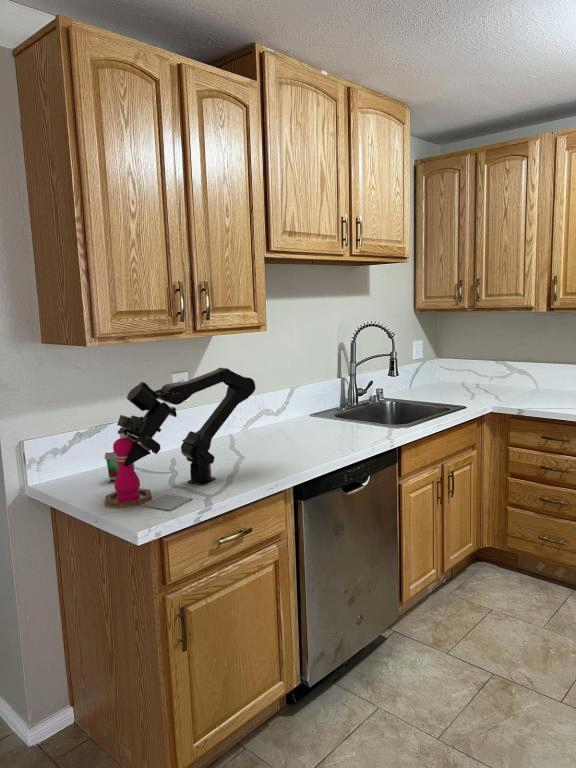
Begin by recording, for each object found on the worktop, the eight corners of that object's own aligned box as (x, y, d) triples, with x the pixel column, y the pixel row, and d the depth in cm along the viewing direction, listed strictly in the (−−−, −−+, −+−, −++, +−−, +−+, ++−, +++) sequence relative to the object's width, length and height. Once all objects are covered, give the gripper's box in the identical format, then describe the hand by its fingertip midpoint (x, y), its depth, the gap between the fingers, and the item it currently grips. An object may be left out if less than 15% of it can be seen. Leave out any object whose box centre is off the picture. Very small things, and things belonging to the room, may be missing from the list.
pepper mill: (122, 505, 169) (115, 437, 166) (112, 499, 175) (105, 433, 172) (145, 499, 173) (139, 432, 170) (135, 493, 179) (129, 428, 176)
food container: (122, 484, 189) (120, 454, 187) (107, 483, 191) (104, 453, 190) (145, 473, 200) (143, 444, 199) (130, 472, 202) (127, 443, 201)
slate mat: (165, 495, 176) (165, 494, 176) (192, 499, 172) (192, 498, 171) (142, 506, 168) (142, 505, 168) (170, 511, 163) (170, 509, 163)
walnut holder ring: (127, 490, 183) (127, 486, 183) (160, 495, 177) (160, 491, 176) (95, 504, 172) (95, 500, 171) (129, 510, 165) (129, 505, 165)
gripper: (121, 400, 180) (88, 443, 175) (146, 408, 165) (111, 454, 160) (147, 421, 185) (116, 463, 181) (174, 430, 171) (141, 476, 166)
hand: (120, 463), depth 172 cm, fingers closed on pepper mill, 5 cm apart
